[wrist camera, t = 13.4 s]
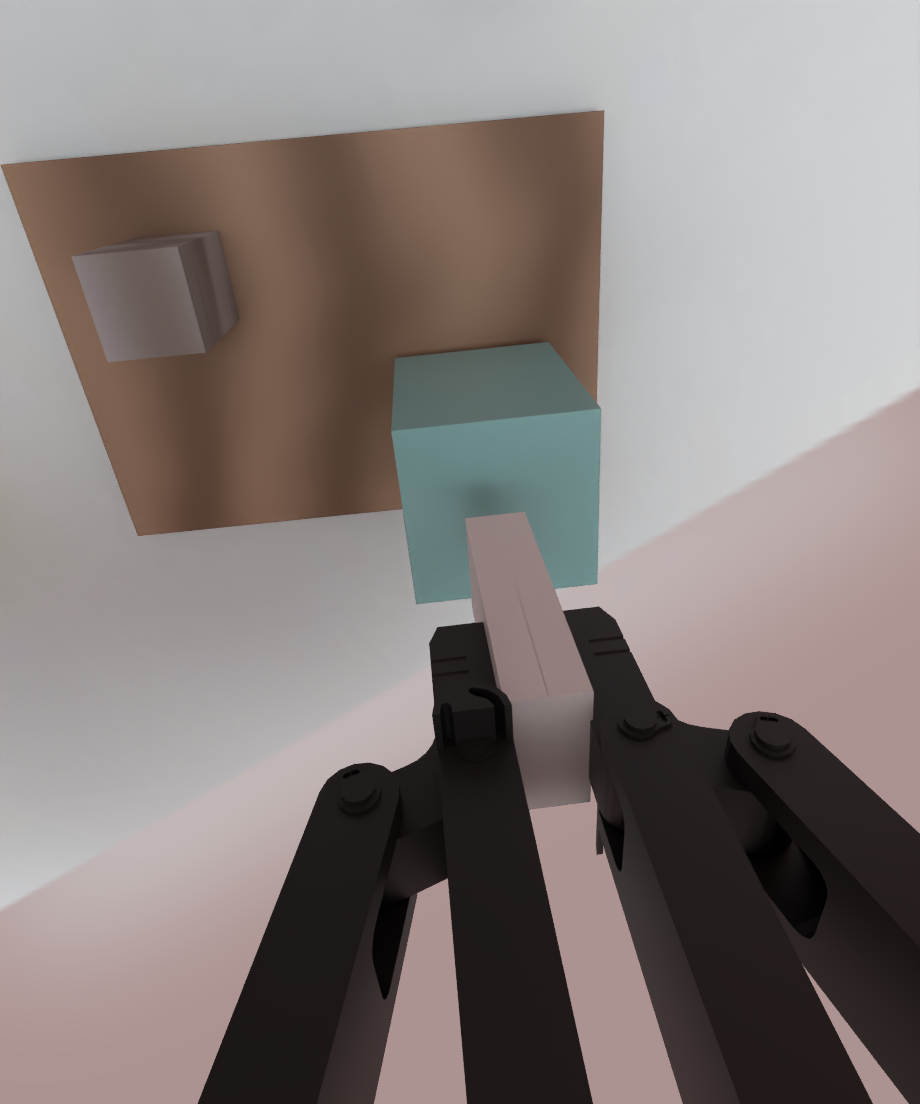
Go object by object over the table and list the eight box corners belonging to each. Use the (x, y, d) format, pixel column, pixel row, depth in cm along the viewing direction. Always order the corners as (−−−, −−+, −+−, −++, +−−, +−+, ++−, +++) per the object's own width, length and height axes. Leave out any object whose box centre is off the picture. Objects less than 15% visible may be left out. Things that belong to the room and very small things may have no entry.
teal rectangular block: (413, 497, 28) (416, 604, 21) (394, 358, 25) (391, 431, 18) (551, 482, 28) (597, 583, 21) (548, 341, 25) (601, 408, 19)
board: (145, 525, 30) (91, 601, 25) (15, 164, 23) (-98, 166, 18) (588, 480, 30) (626, 545, 25) (596, 112, 23) (651, 99, 18)
